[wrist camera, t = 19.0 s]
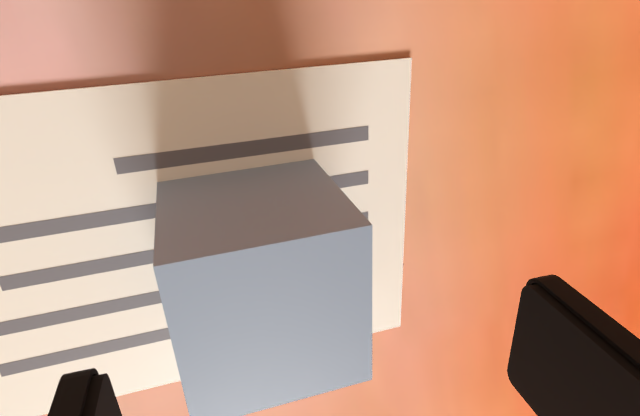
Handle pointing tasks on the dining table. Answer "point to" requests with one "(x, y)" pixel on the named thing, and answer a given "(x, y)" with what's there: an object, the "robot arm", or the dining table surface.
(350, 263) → the cube
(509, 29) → the dining table surface
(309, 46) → the dining table surface
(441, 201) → the dining table surface
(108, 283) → the letter
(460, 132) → the dining table surface
